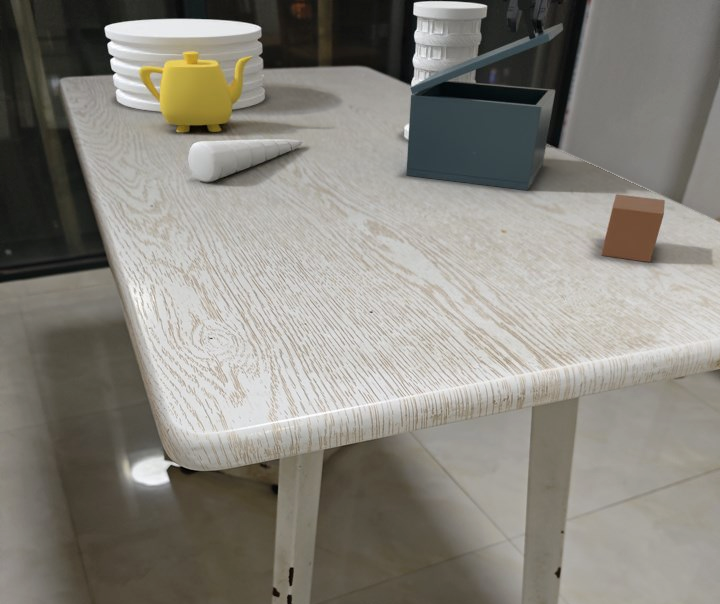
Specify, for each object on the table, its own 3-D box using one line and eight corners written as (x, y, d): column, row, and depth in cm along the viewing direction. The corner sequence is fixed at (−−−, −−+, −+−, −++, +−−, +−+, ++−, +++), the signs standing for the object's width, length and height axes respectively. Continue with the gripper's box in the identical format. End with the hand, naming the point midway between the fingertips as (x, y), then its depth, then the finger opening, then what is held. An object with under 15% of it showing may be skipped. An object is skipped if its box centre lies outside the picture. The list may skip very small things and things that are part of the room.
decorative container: (408, 145, 110) (416, 7, 99) (400, 128, 119) (406, 0, 108) (481, 146, 111) (497, 9, 100) (467, 129, 120) (481, 1, 109)
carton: (651, 246, 77) (664, 199, 74) (650, 262, 74) (663, 214, 71) (604, 240, 79) (616, 193, 76) (601, 255, 75) (612, 207, 72)
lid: (563, 29, 92) (554, -20, 89) (549, 41, 82) (538, -14, 80) (437, 78, 100) (426, 35, 98) (412, 94, 91) (398, 46, 88)
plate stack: (119, 85, 144) (107, 18, 137) (256, 83, 149) (252, 18, 142) (114, 114, 123) (100, 37, 116) (274, 110, 128) (270, 36, 121)
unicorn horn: (322, 149, 107) (322, 114, 104) (214, 186, 91) (210, 146, 88) (298, 144, 109) (297, 110, 106) (188, 180, 93) (183, 141, 90)
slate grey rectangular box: (542, 166, 102) (555, 89, 96) (527, 190, 93) (541, 107, 87) (430, 153, 107) (436, 79, 100) (406, 175, 97) (410, 95, 91)
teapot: (254, 118, 123) (250, 46, 116) (259, 133, 114) (255, 57, 108) (148, 120, 120) (137, 47, 113) (145, 135, 111) (133, 57, 105)
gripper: (498, -128, 86) (465, 1, 84) (615, -129, 82) (583, 6, 81) (501, -72, 93) (470, 47, 92) (608, -71, 89) (578, 53, 88)
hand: (523, 27), depth 86 cm, fingers closed on lid, 2 cm apart
